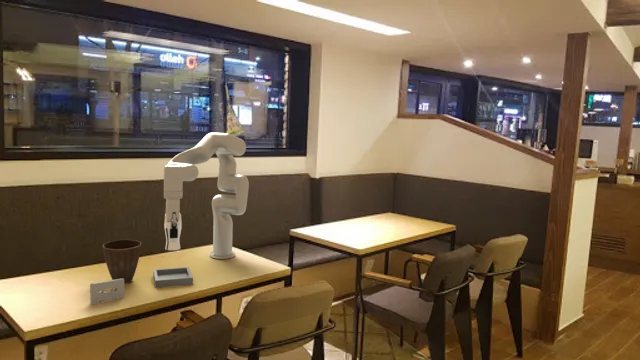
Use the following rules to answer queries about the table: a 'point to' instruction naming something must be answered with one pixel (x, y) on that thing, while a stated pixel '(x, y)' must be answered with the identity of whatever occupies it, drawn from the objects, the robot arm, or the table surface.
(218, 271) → the table surface
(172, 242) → the beer glass
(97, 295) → the cassette
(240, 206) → the robot arm
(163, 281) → the serving tray
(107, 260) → the plant pot
